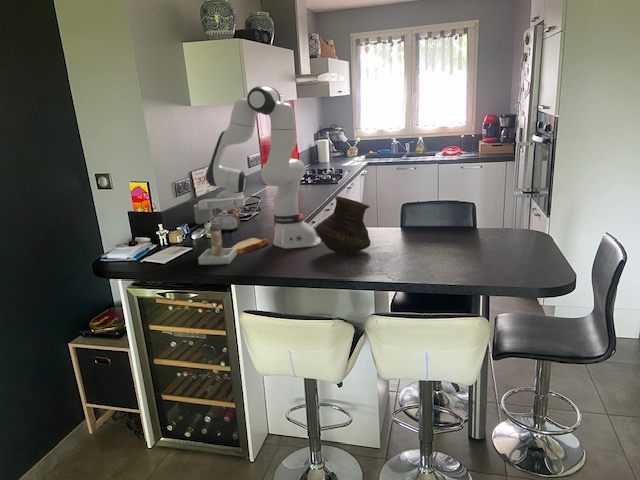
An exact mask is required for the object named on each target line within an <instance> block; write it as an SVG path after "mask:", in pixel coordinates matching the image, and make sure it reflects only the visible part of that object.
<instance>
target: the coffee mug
mask: <svg viewBox="0 0 640 480" xmlns="http://www.w3.org/2000/svg"><path fill="white" fill-rule="evenodd" d="M216 209H217V208H213V209H199V205H198V203H197V204H194V205H193V211H194V221H195V224H197V225H204V224H203V223H205V222H208V221H212V219H213V218H214V216H215V215H216V214H217V213H216V212H217V210H216Z"/></svg>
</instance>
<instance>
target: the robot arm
mask: <svg viewBox="0 0 640 480" xmlns="http://www.w3.org/2000/svg"><path fill="white" fill-rule="evenodd" d="M259 114H263V115H265V116H268V117H269V120H270V121H269V122H270V149H269V153H268V158H267V161H266V163H265V164H264V166H263V167H262V169H261V174H260V175H261V180H262V181H263V183H264V184H265V185H266V186H268V187H277V191H276V193H275V195H274V197H273V209H274V214H273V225H274V238H273V243H272V244H273V246H276V247H279V248H282V249H295V248H298V249H299V248H306V247H307V248H309V247H310V248H311V247H317V246H319V245H320V244H322V243H321V242H322V240H321V238H320V237H319V236H317V234H316V233H317V232H316V229H315V228H314V227H313V226H311V225H310V224H309V223H307V222H306V221H304V215H303V213H300V212H299V203H298V202H299V200H298V198H299V191H300V186H301V181H302V179H303V177H304V175H305V173H306V167H305V163H304V162H303V161H302V160H301V159H296V158H292V157H291V156H292V154H293V151H294V150H295V148H296V144H297V143H296V141H297V139H296V138H297V137H296V132H297V131H296V129H297V128H296V117H295V111H294V107H293V106H292V105H291V104H290V103H287V102H284V101H283V102H282V100H281V95H280V93H279V91H278V90H276V89H275V88H273V87H272V86H268V85H261V86H259V85H258V86H254V87H253V88H252V89H250V90H249V91H248V94H247V96H246V97H242V98H241V97H240V98H238V99H237V100H236V101H234V104H233V107H232V111H231V114H230V119H229V124H228V127H227V128H226V129H225V130H224V131H222V132H221V133H220V134H219V137H218V139H217V141H216V144H215V147H214V150H213V153H212V157H211V159H210V162H209V165H208V168H207V169H206V172H205V178H204V179H205V182H207V183H208V186H209V185H210V186H212V187H216V188H217V187H218V188H223V189H224V190H222V191H221V192H218V193H217V195H216V196H215V197H213V198H205V199H201V200H199V201H198V202H197V204H198V205H199V209H212V210H213V208H215V209H219V210H221V211H230V210H233V209H237V208H241V207H242V208H243V207H245V206H246V202H245V196H244V192H245V190H246V187H247V177H246V174H245V172H244V171H243V170H240V169H236V168H231V167H227V166H222V164H221V163H222V159H223V157H224V154H225V150H226V149H227V148H228V147H230V146H233V145H240V144H244V143H246V142H248V141H250V140H251V139H252V138H253V135H254V131H255V125H256V120H257V116H258V115H259Z"/></svg>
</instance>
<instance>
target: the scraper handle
mask: <svg viewBox="0 0 640 480" xmlns="http://www.w3.org/2000/svg"><path fill="white" fill-rule="evenodd" d="M209 232H210V233H209V234H210V240H211V241H210V242H211V249H212V253H213V257H223V240H222V230H221V228H220V225H213V224H212V225H211V226H209Z"/></svg>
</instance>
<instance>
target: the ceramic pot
mask: <svg viewBox="0 0 640 480" xmlns="http://www.w3.org/2000/svg"><path fill="white" fill-rule="evenodd" d="M334 199H335V200H336V201H335V207H334V210H333V213H331V214H329V216H328V217H326V218H325V219H323V220H322V221H321V222H319V223H317V224H316V226H315V228H314V230H315V233H317V235H318V237H319V238H320V239H321V242H322V243H323V244H324V246H325V247H327V249H328V250H330V251H332V252H334V253H338V254H341V255H348V256H349V255H351V254H354V253H357V252H361V251H363V250H365V249H368V248H369V247H371V239H370V235H369V230H368V229H367V226H366V225H365V223H364V216H365V212H366V211H367V209H369V208H371V206H370V205H368V204H365V203H362V202H360V201H356V200H354V199H350V198H346V197H343V196H334Z"/></svg>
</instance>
